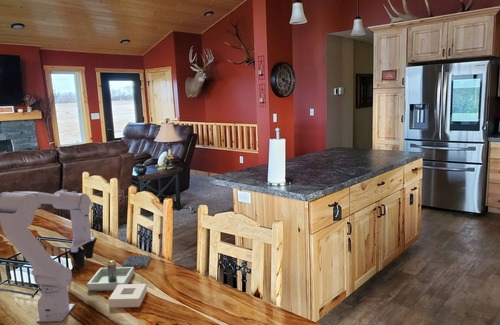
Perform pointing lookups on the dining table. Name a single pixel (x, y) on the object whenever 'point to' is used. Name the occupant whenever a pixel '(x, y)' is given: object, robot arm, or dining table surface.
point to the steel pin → (112, 270)
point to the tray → (101, 279)
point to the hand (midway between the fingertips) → (85, 262)
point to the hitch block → (127, 295)
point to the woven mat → (137, 261)
